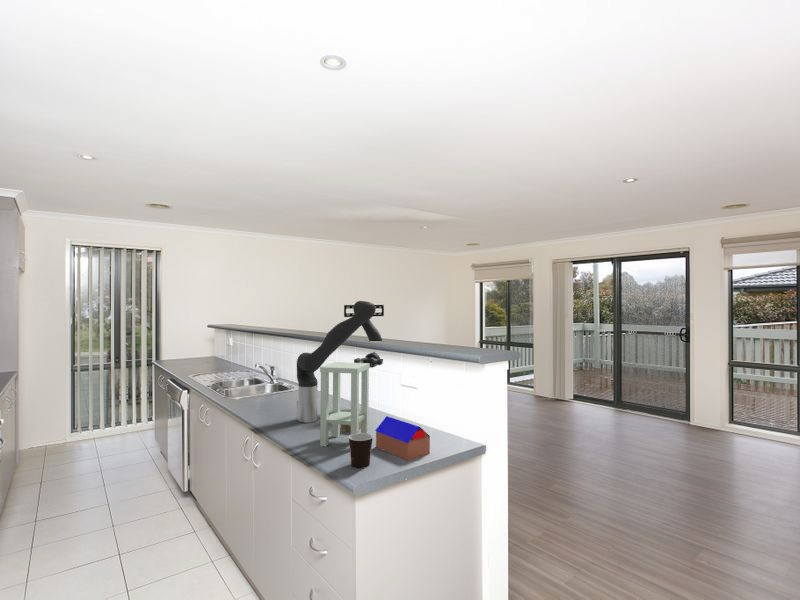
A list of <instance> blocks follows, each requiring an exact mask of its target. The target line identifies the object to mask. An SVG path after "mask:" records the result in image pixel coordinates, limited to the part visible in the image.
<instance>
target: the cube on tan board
mask: <svg viewBox="0 0 800 600" xmlns="http://www.w3.org/2000/svg"><path fill="white" fill-rule="evenodd" d="M359 413H361V410H359ZM360 429H361V421H360V422H359V430H360ZM343 431H348V432H349V433H351V425H343V424H340V432H343ZM360 431H361V430H360ZM348 432H347V433H348Z"/></svg>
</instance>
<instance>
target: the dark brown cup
mask: <svg viewBox="0 0 800 600" xmlns="http://www.w3.org/2000/svg"><path fill="white" fill-rule="evenodd" d="M373 438H374V437H373V434H369V433H368V434H366V433H361V432H359V433H357V434H352V435H351V434H350V435H349V436H348V445H349V453H350V455H349V456H350V463H351V467H352V466H353V467H352V468H354V467H356V468H355V469H365V468H364V467H366V468H368V467H369V466H370V462H371V455H372V446H373Z"/></svg>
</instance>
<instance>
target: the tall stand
mask: <svg viewBox="0 0 800 600" xmlns="http://www.w3.org/2000/svg"><path fill="white" fill-rule="evenodd" d="M319 372H320V401H319V402H320V411H319V414H320V416H319V417H320V418H319V419H320V422H319V423H320V424H319V425H320V427H319V428H320V429H319V430H320V431H319V433H320V434H319V437H320V438H319V440H320V441H319V446H320V447H322V446H325V447H324V448H326V447H328V446H329V424H331V425H332V437H333V438H339V437H340V436H341V424H343V425H351V432H350V435H352V434H357V433H366V434H369V414H370V413H369V405H370V404H369V401H370V400H369V397H370V394H369V392H370V391H369V390H370V389H369V385H370V383H369V381H370V380H369V379H370V378H369V377H370V363H354V362H346V361H345V362H344V361H343V362H342V361H341V362H340V361H334V362H331V363H329V364H325V365H321V366H320V367H319ZM331 373H332V413H330V412H329V409H330V408H329V406H330V405H329V404H330V403H329V401H330V397H329V396H330V389H329V388H330V374H331ZM341 374H350V411H342V410H341ZM360 374H361V375H360ZM360 376H361V379H360ZM360 380H361V384H360ZM360 385H361V386H360ZM360 387H361V388H360ZM360 392H361V395H360ZM360 396H361V399H360ZM360 401H361V402H360ZM360 404H361V405H360ZM360 408H361V409H360ZM359 411H361V413H359ZM329 413H330V414H329ZM360 421H361V430H360V431H359V422H360ZM327 445H328V446H327Z"/></svg>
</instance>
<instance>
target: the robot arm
mask: <svg viewBox="0 0 800 600" xmlns="http://www.w3.org/2000/svg"><path fill="white" fill-rule="evenodd" d="M352 308H353V309H352V311H353V313H354V315H352V317H349V318H348V319H346V320H343V321H341V322H339V323H337V324H335V326H334V327H332V329H330V330H329V331H328V332H327V334H326V335H325V337H324V339H323V341H322V343H321V344H320V345H319V346H318V347H317V348H316V349H314V351H312V352H302V353H301V354H299V355H298V357H297V358H296V359H297V360H296V380H297V384H298V393H297V394H298V397H297V398H298V400H297V401H296V420H297V421H298V422H300V423H307V424H308V423H314V422H317V421H318V385H319V384H318V383H319V382H318V379H317V377H316V376H315V372H316V371H317V370H318V369H319V370H320V367H322V366H323V364H324V363H325V361H326V360H327V359H328V358H329V357H330V356H331V355H332V354H333V353H334V352H335V351H336V350H337V349H338V348H340V346H342V345H343V344H344V343H345V342H346V341H347V340H348V338H349V337H350V336H352V335H353V334H354V333H355V332H357V330H358V329H359V328H360V327H362V329H363V331H364V333H365V334H366V337H367V338H368V339H367V340H368V341H369V342H370V341H383V338H382V336H381V333H380V332H379V330H378V329H377V328H376V326H375V325H374V323H373V322H372V321H371V319H372V318H373V317H374V315H375V313H376V306H375V304H374V303H372V302H371V301H365V300H358V301H356V302H355V303H354V304H353V307H352ZM353 363H370V368H371V369H373V368H375V367H376V366H381V365H383V364H384V362H383V359H380V357H379V355H378V354H377V353H375V351H373V352H370V353H367V354H366V355H365V357H362V358H360V357H357V358H354V359H353ZM370 368H369V369H370Z"/></svg>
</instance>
